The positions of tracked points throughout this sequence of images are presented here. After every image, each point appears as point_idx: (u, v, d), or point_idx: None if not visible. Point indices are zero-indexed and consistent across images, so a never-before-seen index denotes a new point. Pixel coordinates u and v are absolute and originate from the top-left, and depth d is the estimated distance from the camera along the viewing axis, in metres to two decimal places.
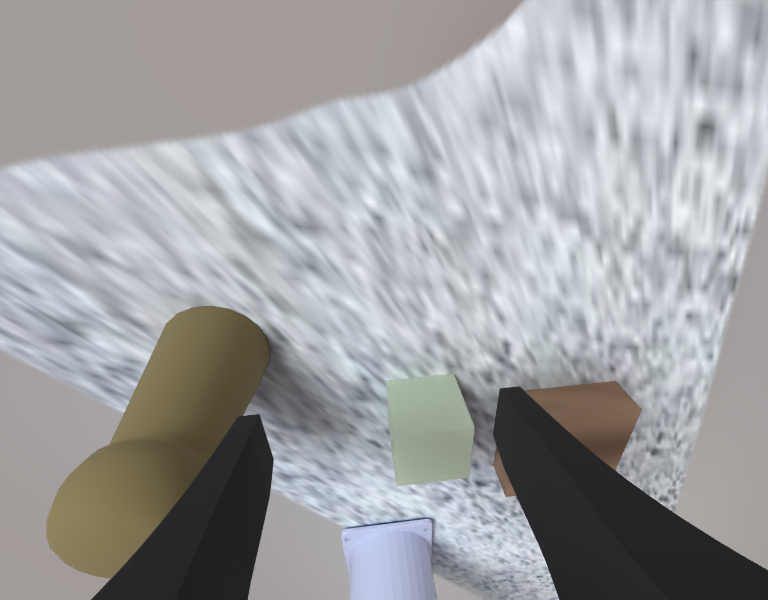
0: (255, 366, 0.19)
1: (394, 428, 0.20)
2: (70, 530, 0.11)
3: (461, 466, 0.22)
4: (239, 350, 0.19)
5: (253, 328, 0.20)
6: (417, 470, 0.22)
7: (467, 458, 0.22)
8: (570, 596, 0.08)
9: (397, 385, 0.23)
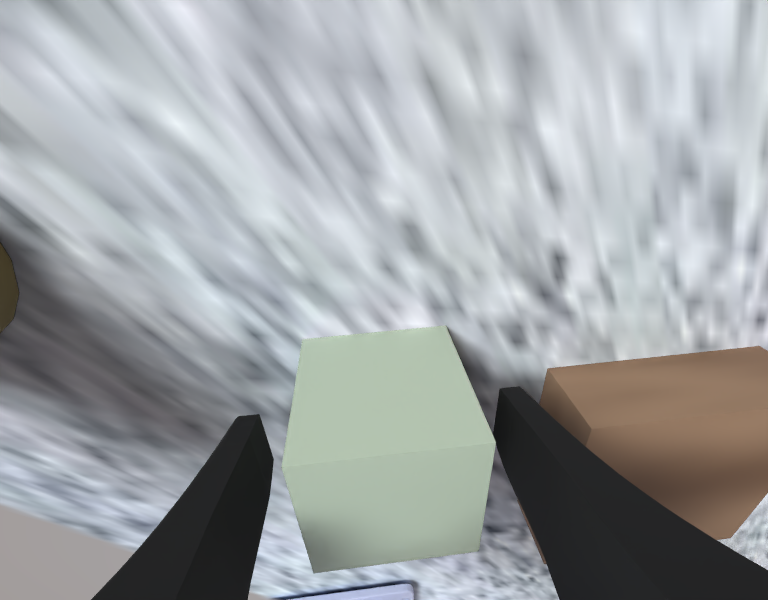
0: None
1: (289, 444, 0.08)
2: None
3: (461, 530, 0.09)
4: None
5: None
6: (358, 542, 0.09)
7: (476, 513, 0.09)
8: (570, 596, 0.08)
9: (323, 347, 0.11)
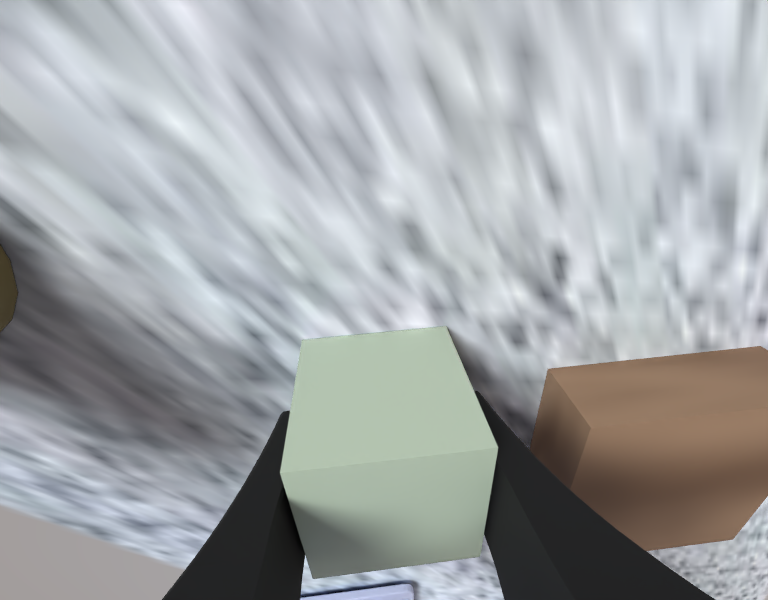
0: None
1: (288, 449, 0.08)
2: None
3: (462, 536, 0.09)
4: None
5: None
6: (357, 548, 0.09)
7: (478, 519, 0.09)
8: None
9: (323, 350, 0.11)
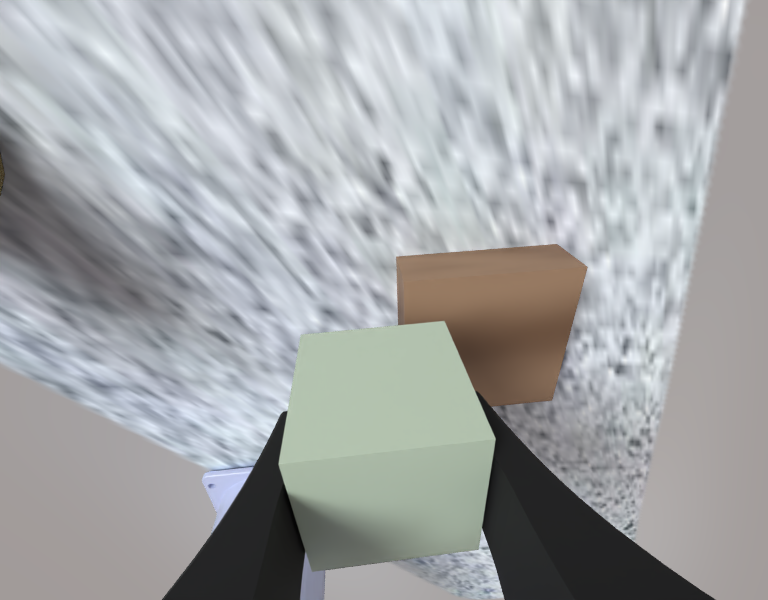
0: None
1: (286, 441, 0.08)
2: None
3: (461, 528, 0.09)
4: None
5: None
6: (356, 541, 0.09)
7: (476, 511, 0.09)
8: None
9: (321, 344, 0.11)
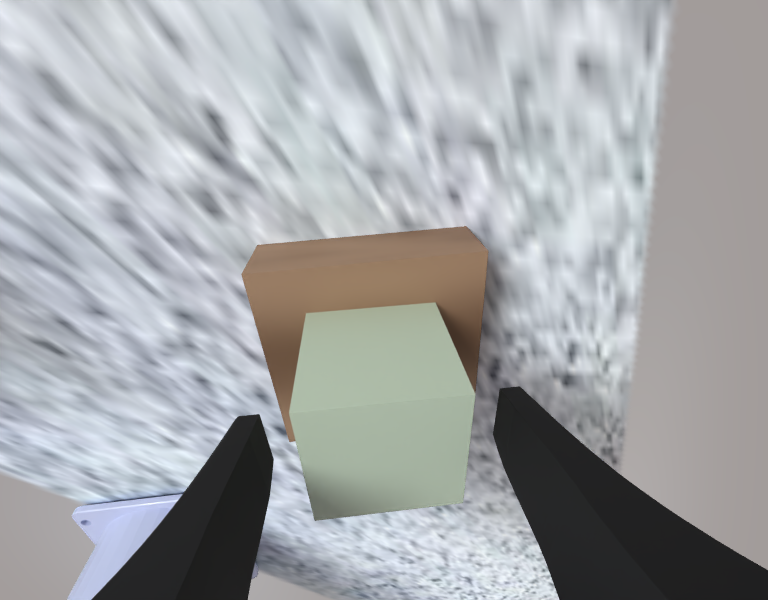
0: None
1: (295, 396, 0.09)
2: None
3: (447, 481, 0.10)
4: None
5: None
6: (354, 490, 0.10)
7: (460, 464, 0.10)
8: (570, 596, 0.08)
9: (325, 321, 0.12)
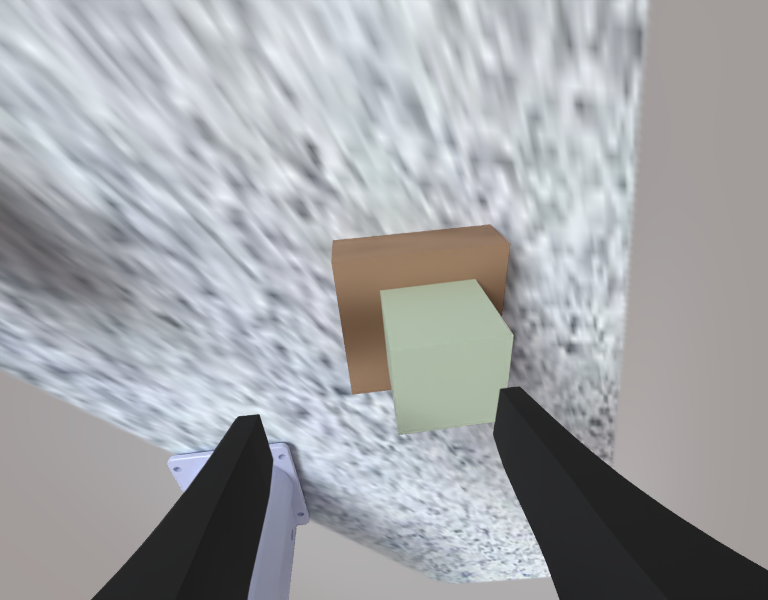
0: None
1: (391, 341, 0.14)
2: None
3: (492, 402, 0.15)
4: None
5: None
6: (428, 410, 0.15)
7: None
8: (570, 596, 0.08)
9: (396, 295, 0.16)
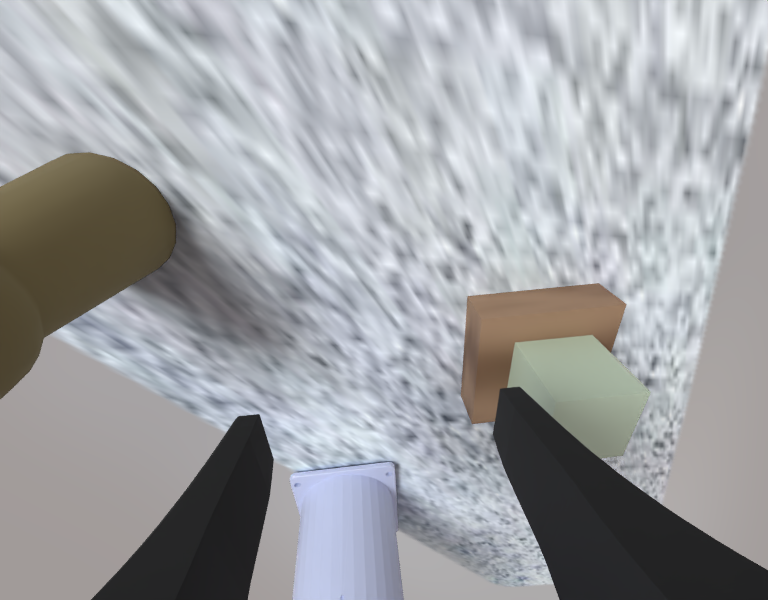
0: (143, 224, 0.15)
1: (551, 393, 0.17)
2: None
3: (618, 441, 0.18)
4: (116, 196, 0.15)
5: (146, 185, 0.16)
6: None
7: (629, 431, 0.18)
8: (570, 596, 0.08)
9: (531, 348, 0.20)
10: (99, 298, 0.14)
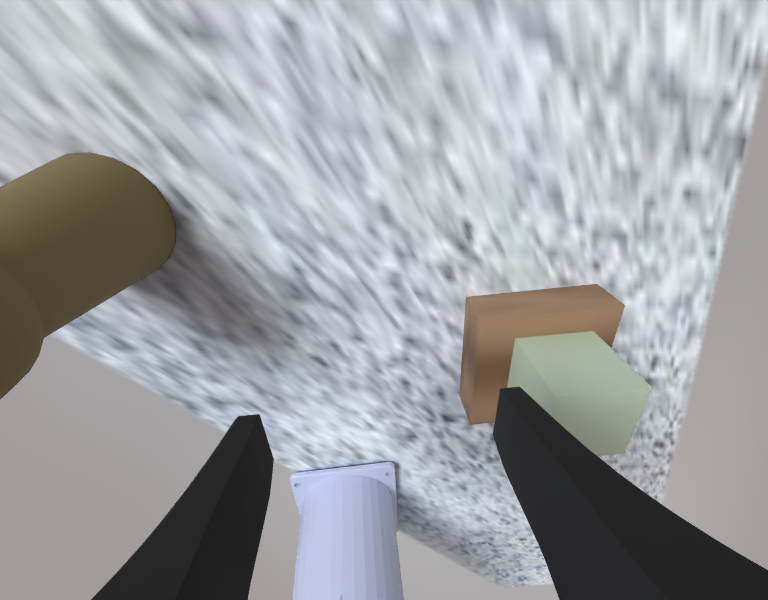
0: (143, 224, 0.15)
1: (551, 388, 0.17)
2: None
3: (620, 438, 0.18)
4: (116, 196, 0.15)
5: (146, 185, 0.16)
6: None
7: (630, 428, 0.18)
8: (570, 596, 0.08)
9: (532, 343, 0.20)
10: (99, 298, 0.14)
